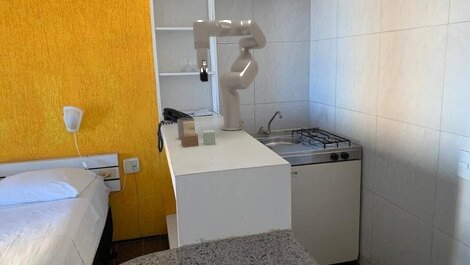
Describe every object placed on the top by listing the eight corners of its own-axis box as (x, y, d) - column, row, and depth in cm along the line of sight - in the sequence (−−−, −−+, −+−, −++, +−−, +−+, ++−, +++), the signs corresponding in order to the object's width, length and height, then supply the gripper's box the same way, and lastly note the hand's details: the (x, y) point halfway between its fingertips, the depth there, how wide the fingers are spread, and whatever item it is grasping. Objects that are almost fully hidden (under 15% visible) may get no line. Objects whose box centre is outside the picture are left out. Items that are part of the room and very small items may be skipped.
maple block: (184, 134, 175) (183, 121, 174) (194, 133, 176) (193, 121, 175) (184, 136, 170) (183, 123, 169) (195, 135, 171) (194, 122, 170)
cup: (192, 140, 185) (190, 120, 183) (176, 140, 186) (174, 120, 185) (197, 136, 193) (195, 117, 191) (182, 136, 195) (180, 117, 193)
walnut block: (181, 144, 177) (180, 134, 176) (196, 143, 178) (195, 132, 177) (183, 147, 170) (182, 137, 169) (198, 146, 172) (197, 135, 171)
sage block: (203, 143, 177) (203, 130, 176) (214, 142, 178) (213, 130, 176) (204, 145, 172) (203, 132, 171) (215, 144, 173) (214, 131, 172)
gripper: (193, 47, 191) (195, 80, 194) (195, 45, 174) (197, 82, 178) (207, 46, 192) (209, 79, 195) (211, 45, 175) (213, 81, 179)
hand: (204, 81), depth 186 cm, fingers open, 9 cm apart
